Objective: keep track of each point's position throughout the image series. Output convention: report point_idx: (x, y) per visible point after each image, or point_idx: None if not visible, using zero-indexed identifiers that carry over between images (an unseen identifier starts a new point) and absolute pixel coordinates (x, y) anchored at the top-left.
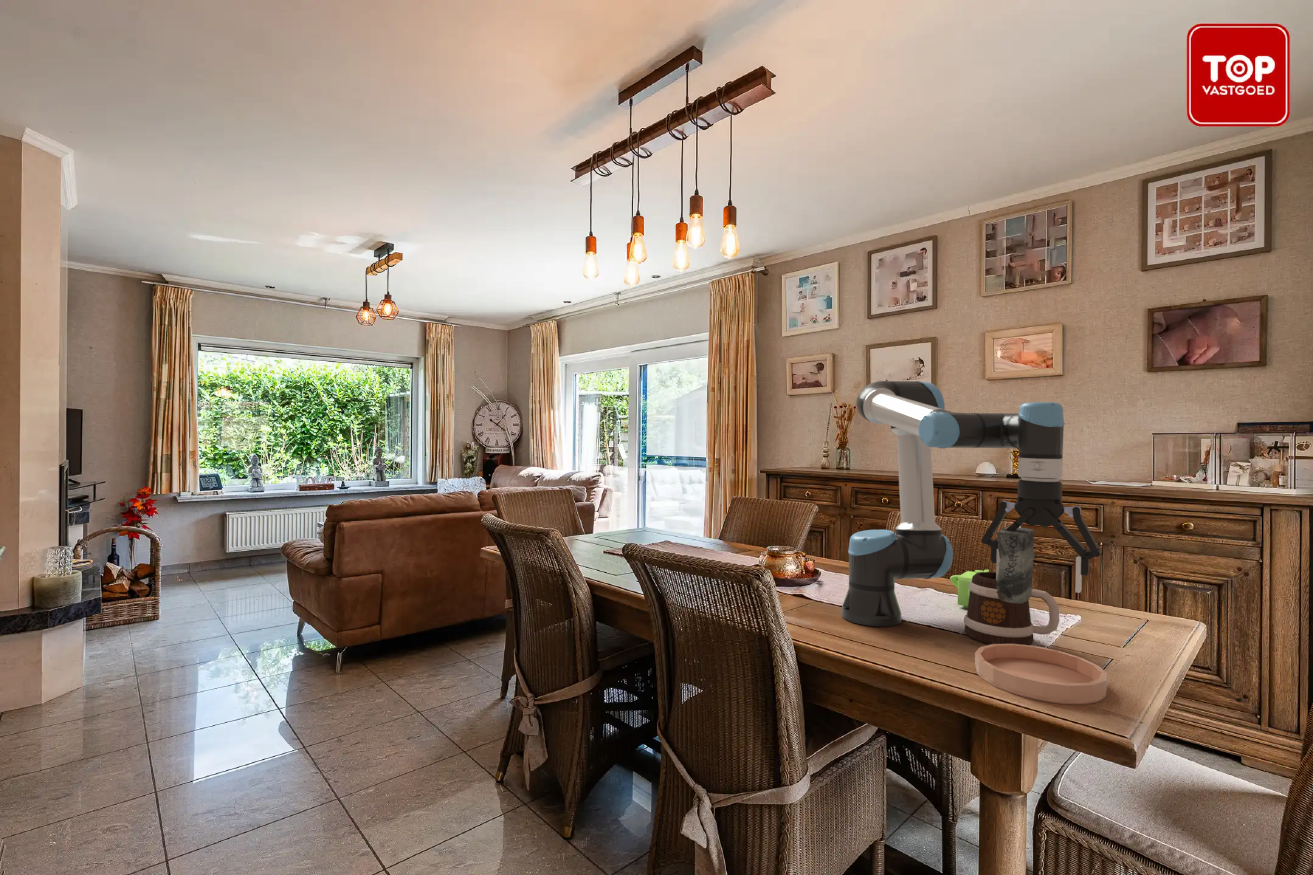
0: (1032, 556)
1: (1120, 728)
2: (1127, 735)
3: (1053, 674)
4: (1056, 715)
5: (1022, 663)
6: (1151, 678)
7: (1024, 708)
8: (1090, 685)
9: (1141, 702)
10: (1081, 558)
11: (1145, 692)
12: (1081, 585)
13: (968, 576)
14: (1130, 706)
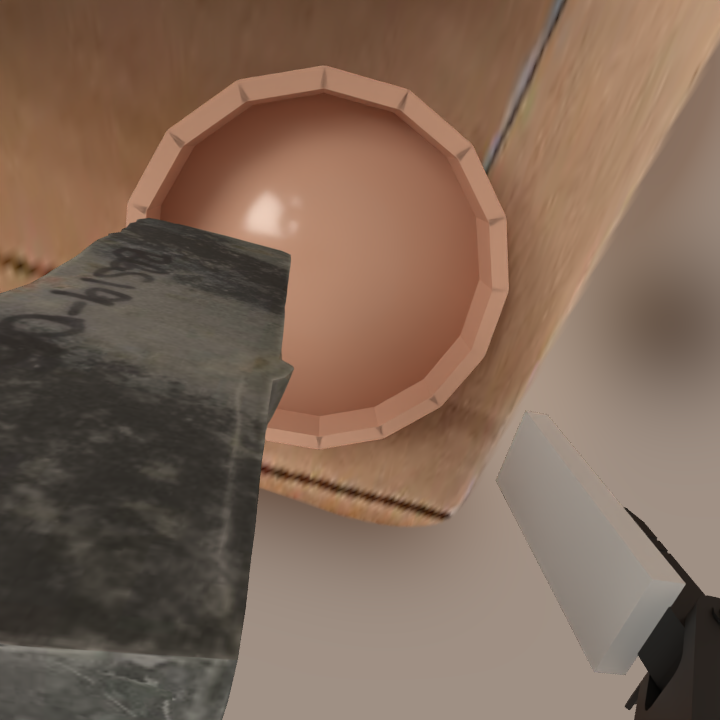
0: (269, 410)
1: (452, 485)
2: (455, 509)
3: (367, 234)
4: (339, 482)
5: (281, 163)
6: (675, 66)
7: (277, 478)
8: (434, 408)
9: (552, 314)
10: (625, 705)
11: (595, 227)
12: (559, 431)
13: None
14: (515, 355)
